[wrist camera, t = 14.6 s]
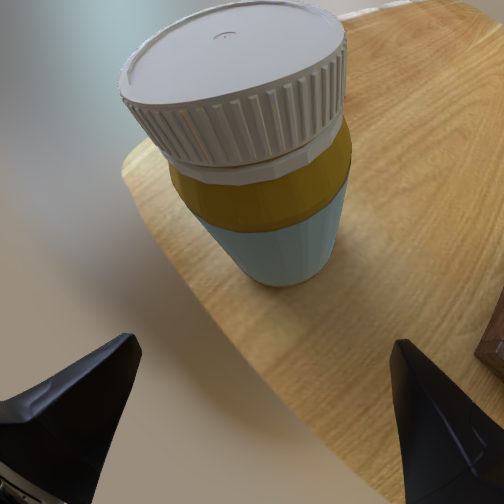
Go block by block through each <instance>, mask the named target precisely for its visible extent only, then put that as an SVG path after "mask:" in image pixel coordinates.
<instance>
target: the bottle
mask: <svg viewBox="0 0 504 504" xmlns="http://www.w3.org/2000/svg"><path fill="white" fill-rule="evenodd" d="M346 64H347V37H346V33H345V32H344V28H343V26H342V24H341V22H340V21H339V20H338V19H337V18H336V17H335V16H334V15H332V14H331V13H330V12H328V11H326V10H324V9H322V8H320V7H317V6H315V5H311V4H308V3H304V2H299V1H293V0H243V1H236V2H231V3H226V4H222V5H218V6H214V7H211V8H207V9H204V10H201V11H198V12H196V13H193V14H191V15H188V16H186V17H184V18H182V19H180V20H178V21H176V22H174V23H172V24H170V25H168V26H166V27H165V28H163V29H162V30H160V31H158V32H157V33H155V34H154V35H153V36H151V37H150V38H149V39H147V40H146V41H145V42H144V43H142V44H141V45H140V46H139V47H138V48H137V49H136V50H135V51H134V52H133V53H132V54H131V55H130V57H129V58H128V59H127V61H126V62H125V63H124V65H123V67H122V69H121V71H120V74H119V76H118V89H119V91H120V96H121V99H122V100H123V102H124V103H125V105H126V106H127V107H128V109H129V110H130V111H131V113H132V114H133V115H134V117H135V118H136V120H137V121H138V122H139V124H140V125H141V126H142V128H143V129H144V130H145V131H146V133H147V135H148V136H149V137H150V139H151V140H152V141H153V143H154V144H155V145H156V146H158V148H159V150H160V151H161V152H162V154H163V155H164V157H165V158H166V159H167V160H168V164H169V170H170V176H171V180H172V183H173V185H174V187H175V189H176V191H177V192H178V194H179V196H180V197H181V199H182V200H183V201H184V202H185V204H186V206H187V207H188V208H189V209H190V211H191V212H192V213H193V214H194V215H195V216H196V218H197V219H198V220H199V221H200V222H201V223H202V225H203V226H204V227H205V228H206V229H207V230H208V232H209V233H210V234H211V235H212V236H213V237H214V239H215V240H216V241H217V242H218V243H219V244H220V245H221V247H222V248H223V249H224V250H225V251H226V252H227V254H228V255H229V256H230V257H231V258H232V259H233V260H234V262H235V263H236V264H237V265H238V266H239V267H240V268H241V269H242V270H243V272H245V273H246V274H247V275H248V276H250V277H251V278H252V279H254V280H255V281H257V282H259V283H261V284H264V285H267V286H270V287H292V286H296V285H299V284H302V283H305V282H307V281H308V280H310V279H311V278H313V277H314V276H315V275H317V274H318V273H319V272H320V271H321V270H322V268H323V267H324V266H325V264H326V263H327V262H328V260H329V258H330V255H331V253H332V250H333V246H334V243H335V238H336V234H337V230H338V225H339V221H340V216H341V212H342V207H343V202H344V197H345V192H346V187H347V182H348V176H349V171H350V165H351V153H352V143H351V138H350V133H349V129H348V126H347V123H346V121H345V118H344V116H343V99H344V97H345V88H346Z"/></svg>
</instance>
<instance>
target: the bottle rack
mask: <svg viewBox="0 0 504 504" xmlns="http://www.w3.org/2000/svg"><path fill="white" fill-rule="evenodd" d="M474 354H475V355H476V356H477V357H478V358H479V359H480V360H481V361H482V362H483V363H484V364H485V365H486V366H487V367H488V368H489V369H490V370H491V371H492V372H493V373H494V374H495V375H496V376H497V377H498V378H499V379H500V380H501V381H502V382H503V383H504V287H503V290H502V293H501V295H500V298H499V301H498V303H497V306H496V308H495V310H494V313H493V315H492V317H491V320H490V322H489V324H488V326H487V328H486V331H485V333H484V335H483V337H482V339H481V341H480V343H479V345H478V347H477V349H476V350H475V352H474Z"/></svg>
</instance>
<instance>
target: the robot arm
mask: <svg viewBox="0 0 504 504" xmlns="http://www.w3.org/2000/svg"><path fill="white" fill-rule="evenodd" d="M141 356H142V350H141V347H140V345H139V343H138V341H137V338H136V336H135V335H134V334H131V333H123V334H121V335H119V336H118V337H116V338H114V339H113V340H111V341H109V342H108V343H106V344H105V345H103V346H101V347H100V348H98V349H96V350H95V351H93V352H92V353H90V354H88V355H86V356H85V357H83V358H81V359H80V360H78V361H76V362H75V363H73V364H71V365H70V366H68V367H67V368H65V369H63V370H62V371H60V372H58V373H57V374H55V375H54V376H52V377H50V378H48V379H47V380H45V381H43V382H41V383H40V384H38V385H36V386H34V387H33V388H30V389H28V390H26V391H24V392H22V393H21V394H18V395H16V396H14V397H12V398H10V399H8V400H5V401H0V504H64V502H65V503H67V504H91V503H92V500H93V497H94V493H95V490H96V487H97V484H98V480H99V477H100V473H101V471H102V468H103V465H104V462H105V459H106V456H107V453H108V450H109V448H110V445H111V442H112V439H113V436H114V434H115V431H116V428H117V426H118V423H119V420H120V417H121V415H122V412H123V410H124V407H125V405H126V402H127V400H128V397H129V395H130V392H131V389H132V386H133V383H134V380H135V376H136V373H137V369H138V366H139V363H140V359H141ZM390 372H391V383H392V395H393V405H394V411H395V416H396V422H397V428H398V434H399V441H400V448H401V456H402V464H403V474H404V485H405V499H406V504H504V429H502V428H501V427H500V426H499V425H498V424H496V423H495V422H494V421H493V420H492V419H491V418H490V417H489V416H488V415H486V414H485V413H484V412H483V411H482V410H481V409H480V408H479V407H478V406H477V405H476V404H475V403H474V402H473V403H472V400H471V399H470V398H469V397H468V396H467V395H466V394H465V393H464V392H463V391H462V390H461V389H460V388H459V387H458V386H457V385H456V384H455V383H454V382H453V381H452V380H451V379H450V378H449V377H448V376H447V375H446V374H445V373H444V372H443V371H442V370H441V369H440V368H438V367H437V366H436V365H435V364H434V363H433V362H432V361H431V360H430V359H429V358H428V357H427V356H426V355H425V354H424V353H423V352H421V351H420V350H419V349H418V348H417V347H416V346H415V345H414V344H413V343H412V342H411V341H410V340H408V339H399V340H396V341H395V343H394V346H393V349H392V352H391V356H390Z"/></svg>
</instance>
